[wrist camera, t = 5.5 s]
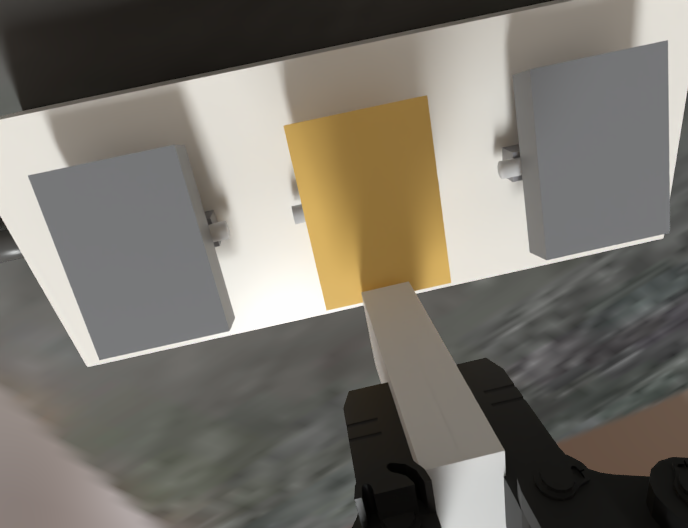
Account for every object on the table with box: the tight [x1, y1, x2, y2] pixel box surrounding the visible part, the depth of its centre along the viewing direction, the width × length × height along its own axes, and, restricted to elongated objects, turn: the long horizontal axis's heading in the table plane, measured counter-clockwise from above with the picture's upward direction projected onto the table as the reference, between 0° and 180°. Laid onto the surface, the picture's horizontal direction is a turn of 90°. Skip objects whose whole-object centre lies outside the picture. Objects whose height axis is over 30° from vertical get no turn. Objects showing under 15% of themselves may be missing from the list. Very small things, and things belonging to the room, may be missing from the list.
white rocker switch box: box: [0, 0, 688, 367], centre depth 17 cm, size 9×28×5 cm, turn 101°
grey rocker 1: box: [28, 145, 235, 360], centre depth 13 cm, size 6×4×1 cm
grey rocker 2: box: [512, 40, 670, 260], centre depth 14 cm, size 6×4×1 cm
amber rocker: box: [283, 95, 451, 311], centre depth 14 cm, size 6×4×1 cm
